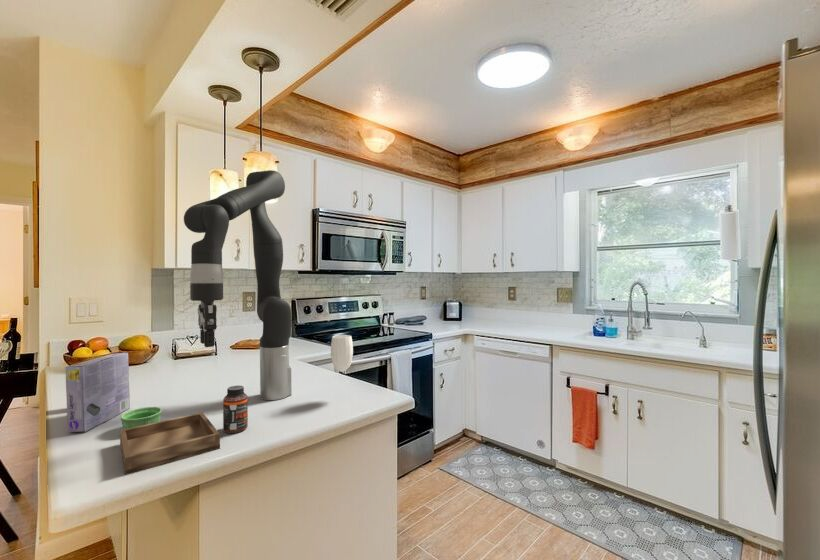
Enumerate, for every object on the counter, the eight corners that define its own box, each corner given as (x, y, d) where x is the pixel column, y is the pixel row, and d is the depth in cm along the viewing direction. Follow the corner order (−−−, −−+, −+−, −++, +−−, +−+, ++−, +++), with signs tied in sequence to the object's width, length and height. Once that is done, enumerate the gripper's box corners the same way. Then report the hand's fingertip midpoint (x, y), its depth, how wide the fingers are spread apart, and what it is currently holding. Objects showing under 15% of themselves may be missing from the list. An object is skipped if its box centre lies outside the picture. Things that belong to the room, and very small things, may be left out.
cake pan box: (116, 407, 116) (115, 351, 116) (133, 407, 117) (132, 350, 116) (64, 434, 97) (63, 366, 97) (85, 433, 98) (83, 366, 97)
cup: (342, 393, 129) (342, 333, 129) (357, 397, 125) (357, 335, 125) (326, 399, 124) (325, 336, 123) (341, 404, 119) (341, 339, 119)
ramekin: (116, 438, 95) (115, 421, 95) (126, 425, 103) (126, 409, 103) (158, 432, 98) (157, 416, 98) (165, 420, 107) (164, 404, 107)
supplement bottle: (238, 435, 97) (237, 391, 96) (218, 433, 98) (217, 390, 98) (252, 425, 102) (252, 384, 102) (233, 424, 104) (232, 383, 103)
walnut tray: (202, 424, 103) (202, 412, 103) (220, 448, 89) (219, 433, 89) (120, 444, 92) (119, 430, 91) (125, 474, 78) (124, 458, 78)
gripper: (227, 281, 93) (227, 346, 93) (218, 282, 105) (219, 340, 105) (192, 281, 89) (193, 349, 89) (187, 282, 101) (188, 343, 100)
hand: (207, 344), depth 97 cm, fingers open, 8 cm apart
